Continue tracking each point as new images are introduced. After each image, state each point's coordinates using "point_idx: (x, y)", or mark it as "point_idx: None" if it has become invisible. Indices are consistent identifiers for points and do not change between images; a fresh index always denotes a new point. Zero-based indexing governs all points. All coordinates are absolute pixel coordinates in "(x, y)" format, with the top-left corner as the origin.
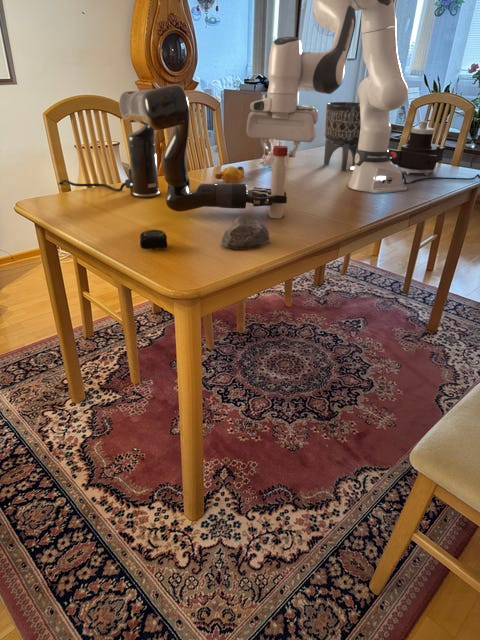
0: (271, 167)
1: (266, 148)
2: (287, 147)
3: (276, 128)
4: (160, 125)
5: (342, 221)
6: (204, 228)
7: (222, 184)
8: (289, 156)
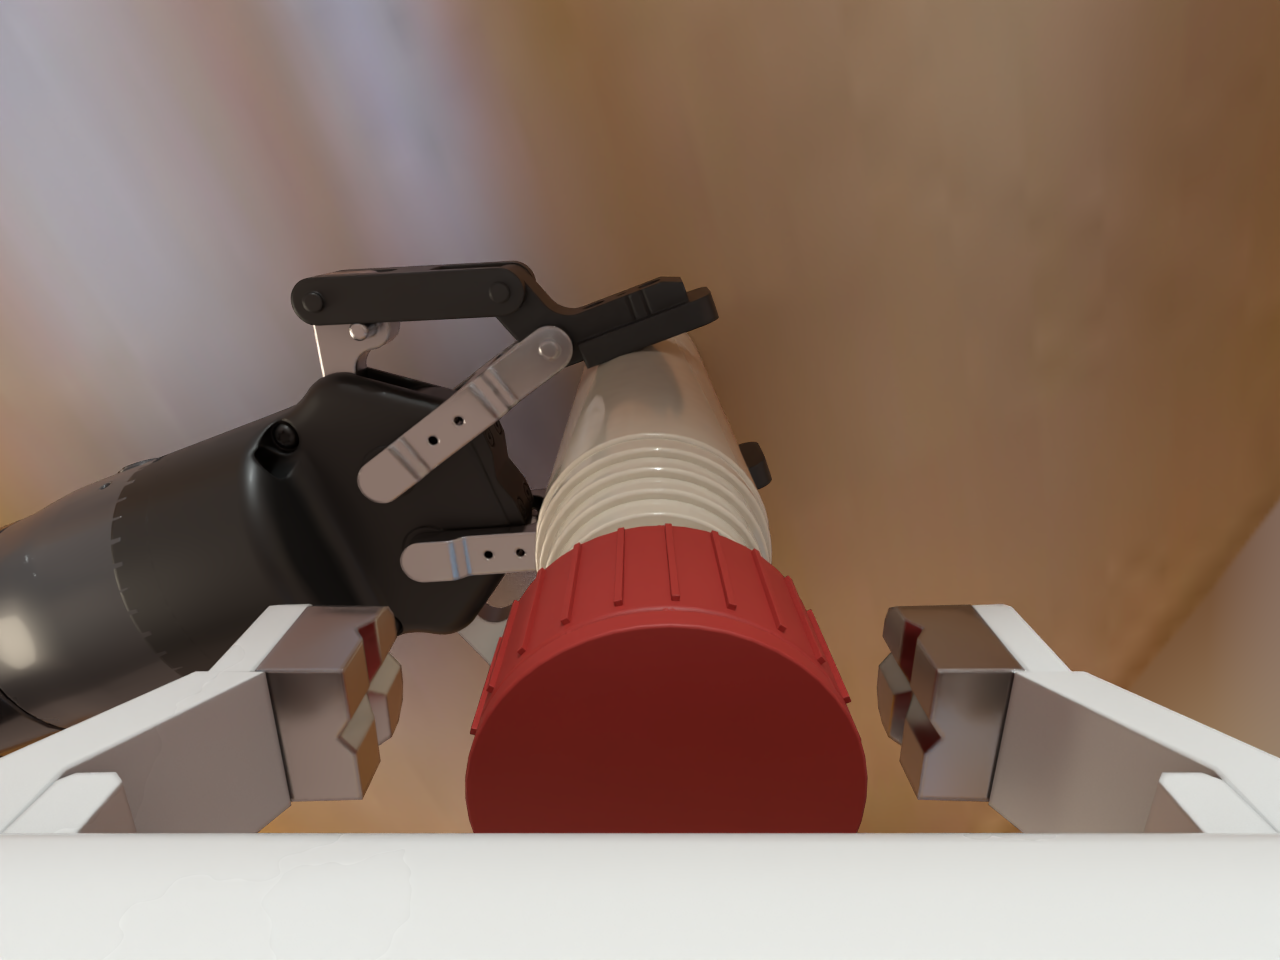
0: None
1: (281, 761)
2: (866, 784)
3: None
4: None
5: (1239, 248)
6: (301, 809)
7: (66, 688)
8: (890, 714)
